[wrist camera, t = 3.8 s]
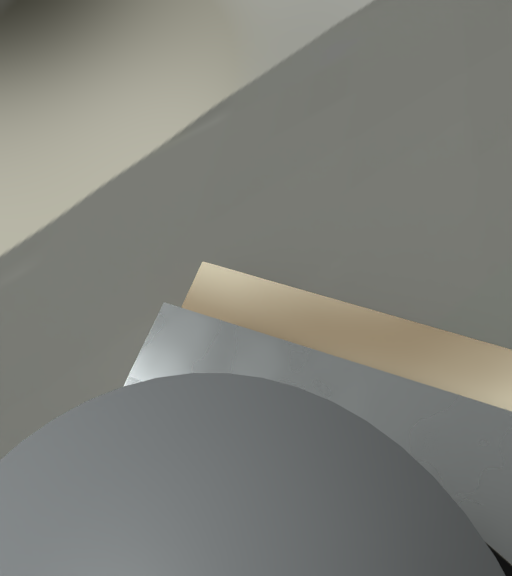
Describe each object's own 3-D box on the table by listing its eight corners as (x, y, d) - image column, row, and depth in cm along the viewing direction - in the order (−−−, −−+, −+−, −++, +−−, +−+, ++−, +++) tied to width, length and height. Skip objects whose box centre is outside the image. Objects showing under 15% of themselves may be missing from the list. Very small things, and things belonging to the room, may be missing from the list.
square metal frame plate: (420, 894, 10) (465, 1038, 7) (32, 676, 12) (-40, 724, 10) (485, 432, 14) (529, 417, 12) (185, 334, 17) (163, 302, 14)
